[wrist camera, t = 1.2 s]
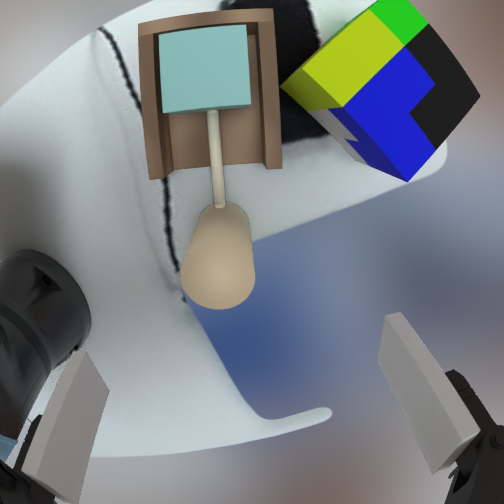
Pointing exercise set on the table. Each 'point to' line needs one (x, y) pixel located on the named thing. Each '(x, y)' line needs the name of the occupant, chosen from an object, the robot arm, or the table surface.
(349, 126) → the puzzle toy
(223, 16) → the shelf lane
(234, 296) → the toy hammer
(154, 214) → the table surface
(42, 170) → the table surface
